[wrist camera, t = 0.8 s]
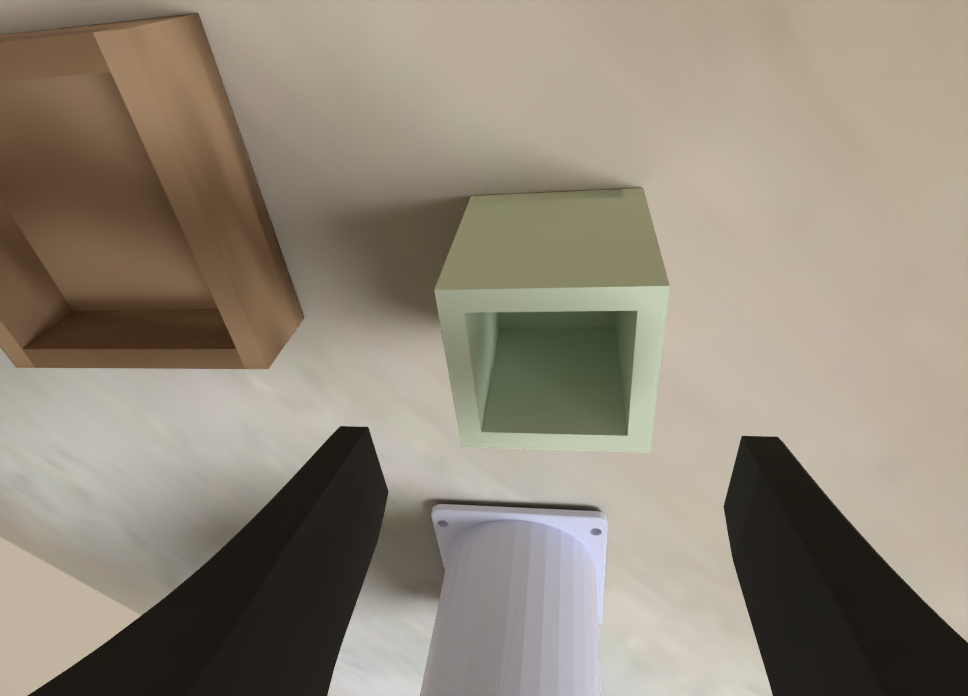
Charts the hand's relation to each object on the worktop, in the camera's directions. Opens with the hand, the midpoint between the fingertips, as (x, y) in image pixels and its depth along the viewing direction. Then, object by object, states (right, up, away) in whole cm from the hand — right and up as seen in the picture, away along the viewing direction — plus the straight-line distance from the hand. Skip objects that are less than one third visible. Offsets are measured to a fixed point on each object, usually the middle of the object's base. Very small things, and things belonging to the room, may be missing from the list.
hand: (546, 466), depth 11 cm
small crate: (+1, +5, +7) cm, 8 cm away
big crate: (-13, +7, +7) cm, 17 cm away
